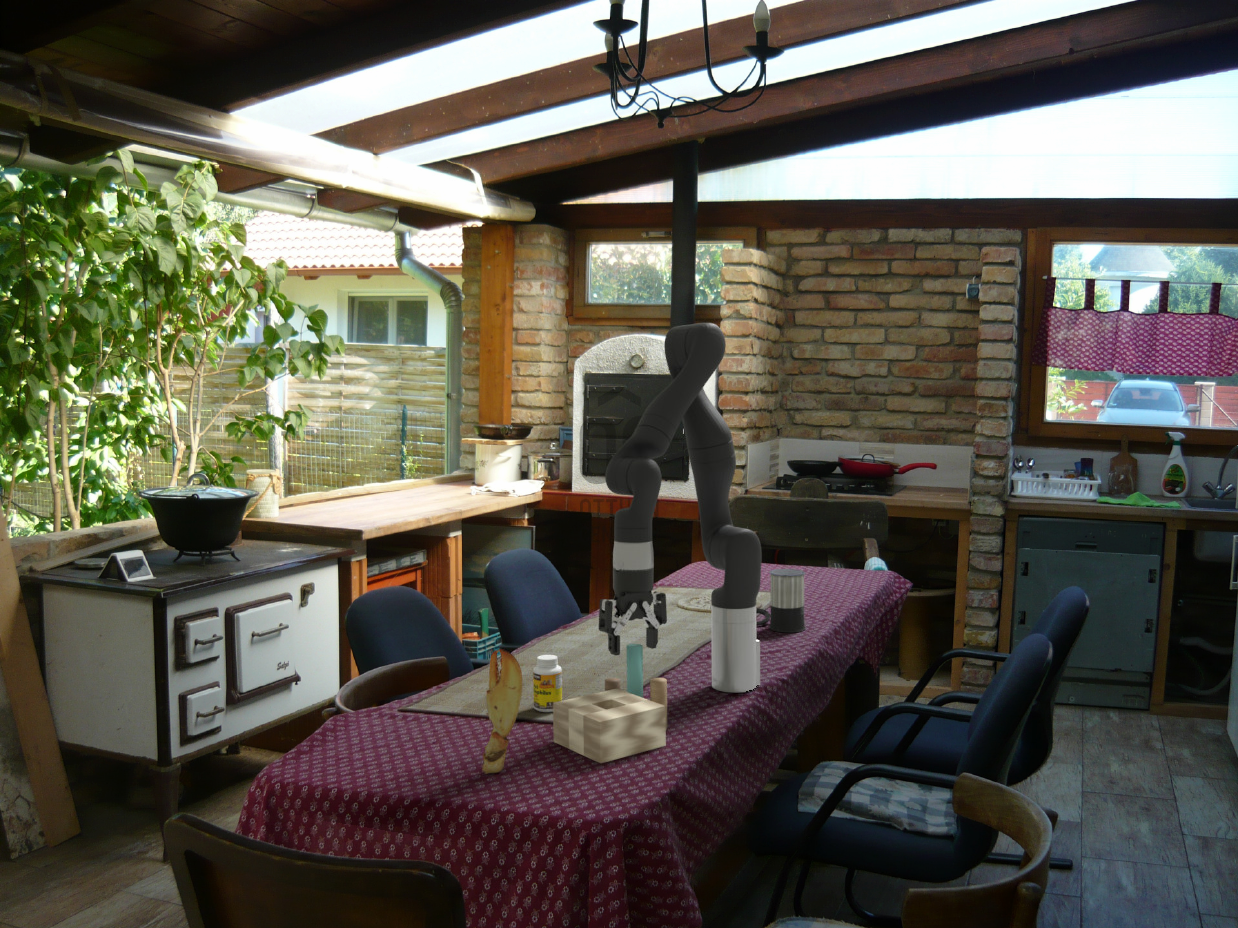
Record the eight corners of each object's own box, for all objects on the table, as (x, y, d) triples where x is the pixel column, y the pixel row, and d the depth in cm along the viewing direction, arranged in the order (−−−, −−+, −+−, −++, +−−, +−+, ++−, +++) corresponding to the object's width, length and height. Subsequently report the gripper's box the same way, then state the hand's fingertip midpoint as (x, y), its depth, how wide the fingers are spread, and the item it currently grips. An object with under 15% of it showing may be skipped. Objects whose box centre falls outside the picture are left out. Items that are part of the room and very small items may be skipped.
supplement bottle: (528, 710, 207) (527, 658, 207) (544, 703, 212) (543, 652, 212) (552, 714, 205) (551, 661, 204) (567, 706, 210) (567, 655, 209)
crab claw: (527, 771, 175) (525, 650, 173) (507, 780, 170) (504, 656, 169) (494, 763, 178) (491, 644, 177) (473, 772, 174) (471, 651, 173)
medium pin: (660, 724, 198) (659, 676, 197) (670, 728, 195) (670, 680, 195) (647, 728, 196) (646, 679, 195) (657, 732, 194) (657, 683, 193)
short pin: (614, 707, 209) (614, 677, 208) (623, 710, 206) (623, 680, 206) (602, 710, 207) (601, 679, 207) (611, 713, 205) (610, 683, 204)
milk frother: (808, 633, 269) (808, 574, 268) (745, 633, 270) (744, 575, 269) (800, 620, 283) (799, 565, 282) (740, 621, 284) (739, 565, 283)
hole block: (617, 725, 197) (616, 688, 197) (665, 745, 186) (665, 705, 186) (553, 741, 189) (553, 702, 188) (600, 763, 178) (600, 721, 177)
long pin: (636, 715, 203) (635, 642, 202) (646, 719, 201) (645, 645, 200) (624, 718, 201) (623, 645, 200) (633, 722, 199) (633, 648, 198)
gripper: (650, 558, 206) (650, 642, 207) (590, 566, 198) (590, 652, 199) (675, 563, 200) (675, 649, 201) (614, 571, 192) (614, 660, 193)
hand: (633, 651), depth 200 cm, fingers open, 8 cm apart
